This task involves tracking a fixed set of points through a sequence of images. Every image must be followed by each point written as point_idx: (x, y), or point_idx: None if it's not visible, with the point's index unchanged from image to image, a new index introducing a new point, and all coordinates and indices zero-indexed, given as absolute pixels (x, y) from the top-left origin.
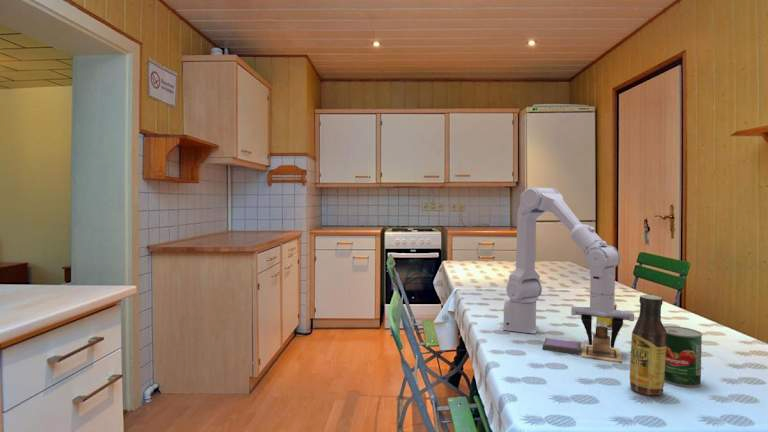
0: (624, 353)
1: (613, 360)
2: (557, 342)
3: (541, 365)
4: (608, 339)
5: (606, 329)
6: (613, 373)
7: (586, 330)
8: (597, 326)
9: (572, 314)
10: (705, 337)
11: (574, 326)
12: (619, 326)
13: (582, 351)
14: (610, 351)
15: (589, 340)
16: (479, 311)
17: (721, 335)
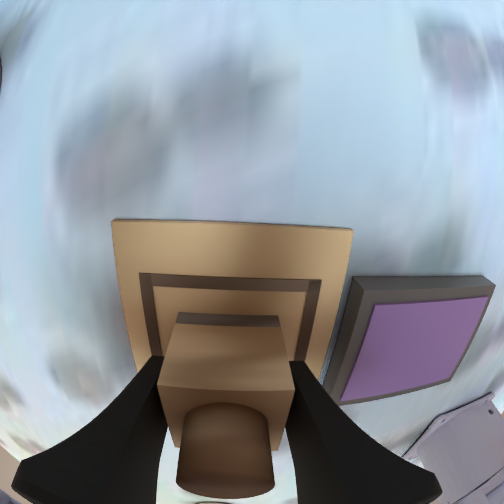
0: (125, 374)
1: (155, 221)
2: (437, 350)
3: (492, 59)
4: (171, 391)
5: (183, 470)
6: (178, 4)
7: (359, 429)
8: (258, 493)
9: (478, 494)
10: None
11: (296, 497)
12: (42, 463)
13: (332, 321)
14: None
15: (311, 378)
16: None
17: None
